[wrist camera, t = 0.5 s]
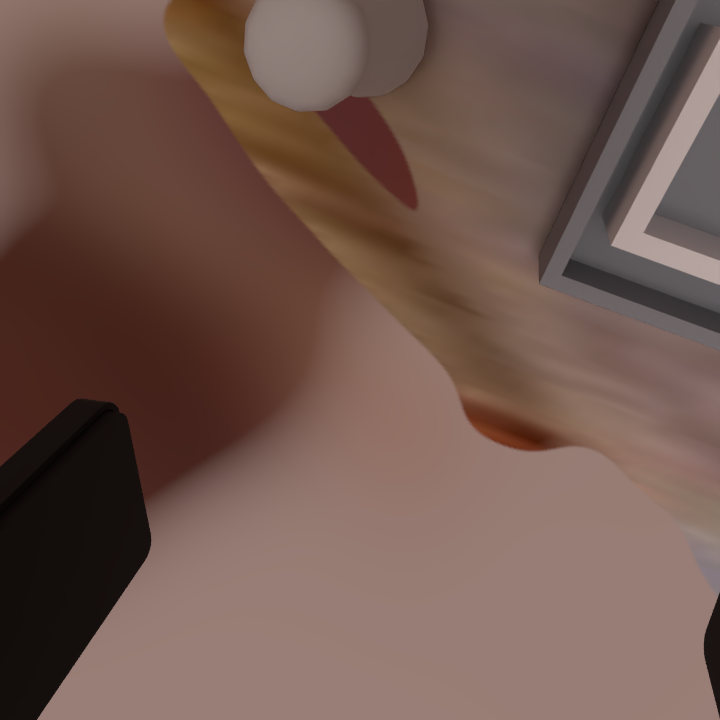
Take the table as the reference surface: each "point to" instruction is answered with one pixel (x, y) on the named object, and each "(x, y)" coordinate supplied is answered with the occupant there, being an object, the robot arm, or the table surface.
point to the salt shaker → (333, 48)
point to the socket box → (652, 186)
